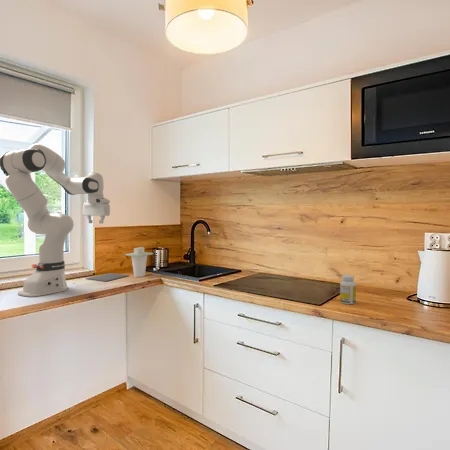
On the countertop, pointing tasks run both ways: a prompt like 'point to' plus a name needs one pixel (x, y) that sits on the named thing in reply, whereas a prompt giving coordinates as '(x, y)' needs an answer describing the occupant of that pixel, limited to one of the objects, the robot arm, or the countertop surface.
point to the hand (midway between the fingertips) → (95, 223)
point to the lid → (139, 252)
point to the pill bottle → (348, 290)
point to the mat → (107, 277)
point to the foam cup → (139, 265)
